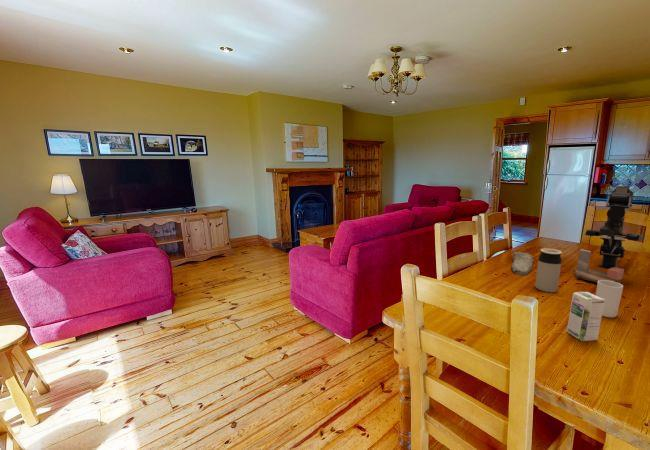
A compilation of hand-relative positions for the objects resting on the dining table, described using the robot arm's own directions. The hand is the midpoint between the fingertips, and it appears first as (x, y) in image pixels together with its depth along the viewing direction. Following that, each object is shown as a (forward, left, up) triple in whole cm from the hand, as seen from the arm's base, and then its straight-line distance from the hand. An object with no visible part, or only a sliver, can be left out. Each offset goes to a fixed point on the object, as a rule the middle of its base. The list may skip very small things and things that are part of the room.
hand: (610, 253), depth 136 cm
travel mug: (+35, -7, -13) cm, 38 cm away
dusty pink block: (+2, +4, -10) cm, 11 cm away
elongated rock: (+13, -31, -14) cm, 36 cm away
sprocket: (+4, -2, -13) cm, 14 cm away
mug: (+38, +15, -13) cm, 42 cm away
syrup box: (+64, +19, -13) cm, 68 cm away
